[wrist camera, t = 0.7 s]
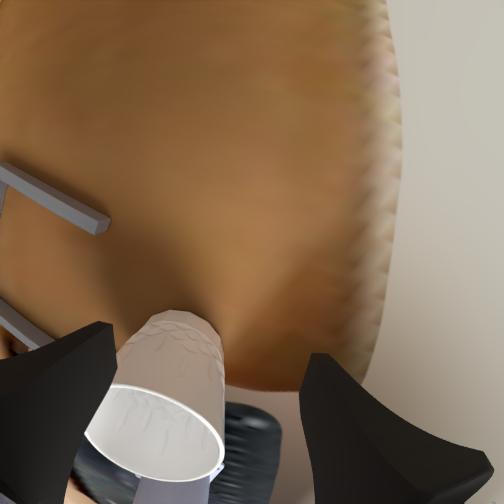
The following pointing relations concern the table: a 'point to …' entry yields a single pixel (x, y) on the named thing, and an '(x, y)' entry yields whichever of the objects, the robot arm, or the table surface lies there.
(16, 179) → the grey u-shaped bracket
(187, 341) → the white cup
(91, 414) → the robot arm
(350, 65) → the table surface
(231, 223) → the table surface
